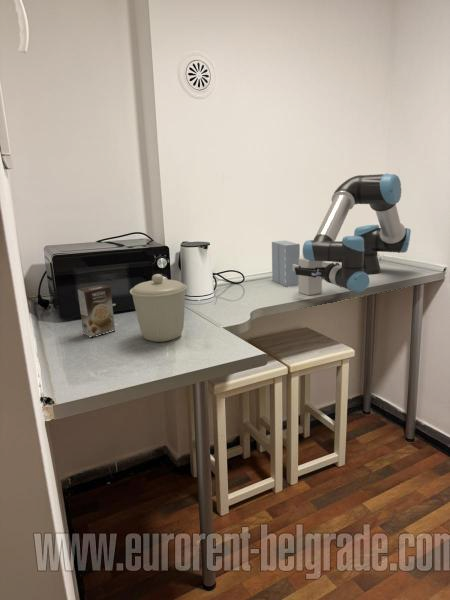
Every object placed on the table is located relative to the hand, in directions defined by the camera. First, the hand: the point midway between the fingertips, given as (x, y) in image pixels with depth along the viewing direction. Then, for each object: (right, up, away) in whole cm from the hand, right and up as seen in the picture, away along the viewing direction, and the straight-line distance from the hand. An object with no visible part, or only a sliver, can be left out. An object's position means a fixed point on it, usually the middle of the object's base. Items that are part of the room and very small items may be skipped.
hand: (307, 265), depth 185 cm
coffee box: (-79, -26, -36) cm, 90 cm away
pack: (-6, -6, +21) cm, 23 cm away
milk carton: (+1, -12, +1) cm, 12 cm away
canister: (-56, -27, -43) cm, 75 cm away
